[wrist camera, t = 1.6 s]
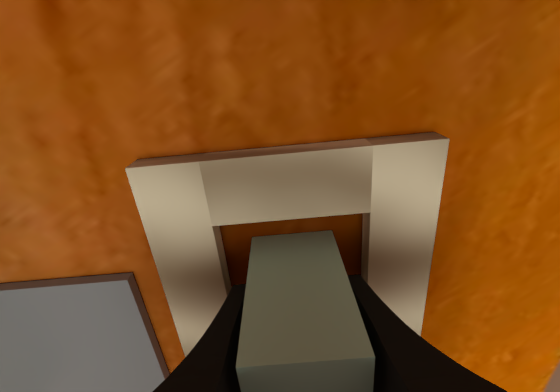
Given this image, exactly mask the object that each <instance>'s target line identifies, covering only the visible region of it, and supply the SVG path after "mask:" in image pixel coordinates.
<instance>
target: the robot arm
mask: <svg viewBox="0 0 560 392" xmlns="http://www.w3.org/2000/svg"><path fill="white" fill-rule="evenodd" d="M348 279H349V282H350V285H351V288H352V291H353V293H354V296H355V299H356V302H357V305H358V308H359V311H360V314H361V317H362V320H363V323H364V326H365V329H366V332H367V334H368V337H369V340H370V343H371V346H372V349H373V352H374V355H375V368H374V384H373V392H507V391H506V390H504V389H502V388H500V387H498V386H497V385H495V384H493V383H491V382H489V381H487V380H485V379H484V378H482V377H480V376H478V375H476V374H475V373H473V372H471V371H470V370H468V369H466V368H465V367H463V366H462V365H460V364H458V363H457V362H455V361H454V360H452V359H451V358H449V357H448V356H446V355H445V354H443V353H442V352H441V351H439V350H438V349H436V348H435V347H433V346H432V345H431V344H429V343H428V342H427V341H426V340H424V339H423V338H422V337H421V336H419V335H418V334H417V333H416V332H414V331H413V330H412V329H411V328H410V327H409V326H408V325H406V324H405V323H404V322H403V321H402V320H401V319H400V318H399V317H398V316H397V315H396V314H395V313H394V312H393V311H392V310H391V309H390V308H389V307H388V306H387V305H386V304H385V303H384V302H383V301H382V300H381V299H380V298H379V296H378V295H377V294H376V293H375V292H374V291H373V290H372V288H371V287H370V286H369V285H368V284H367V282H366V281H365V280H364V279H363V277H362V276H361V275H348ZM245 289H246V284H239V285H233V286H232V288H231V290H230V292H229V294H228V296H227V297H226V299H225V301H224V303H223V305H222V306H221V308H220V310H219V311H218V313H217V315H216V316H215V318H214V319H213V321H212V323H211V324H210V326H209V327H208V328H207V330H206V331H205V333H204V334H203V336H202V337H201V338H200V340H199V341H198V342H197V344H196V345H195V346H194V348H193V349H192V350H191V351H190V353H189V354H188V355H187V356H186V357H185V359H184V360H183V361H182V362H181V363H180V364H179V365H178V366H177V367H176V369H175V370H174V371H173V372H172V373H171V374H170V375H169V376H168V377H167V378H166V379H165V380H164V381H163V382H162V383H161V384H160V385H159V386H158V387H157V388H156V389H155V390H153V391H152V392H241V390H240V385H239V381H238V376H237V372H236V360H237V353H238V345H239V337H240V329H241V321H242V313H243V305H244V297H245Z"/></svg>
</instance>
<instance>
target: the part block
mask: <svg viewBox="0 0 560 392" xmlns="http://www.w3.org/2000/svg"><path fill="white" fill-rule="evenodd" d="M374 368H375V355H374V352H373V349H372V346H371V343H370V340H369V337H368V334H367V332H366V329H365V326H364V323H363V320H362V317H361V314H360V311H359V308H358V305H357V302H356V299H355V296H354V293H353V291H352V288H351V285H350V282H349V279H348V276H347V273H346V270H345V267H344V264H343V261H342V258H341V255H340V252H339V249H338V247H337V244H336V241H335V238H334V235H333V232H332V230H327V231H316V232H304V233H293V234H281V235H269V236H258V237H252V241H251V249H250V257H249V265H248V273H247V281H246V289H245V297H244V305H243V313H242V321H241V329H240V337H239V345H238V353H237V360H236V372H237V376H238V381H239V385H240V390H241V392H373V384H374Z"/></svg>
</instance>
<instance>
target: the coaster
mask: <svg viewBox="0 0 560 392" xmlns="http://www.w3.org/2000/svg"><path fill="white" fill-rule="evenodd" d="M169 375H170V374H169V371H168V368H167V366H166V363H165V360H164V358H163V355H162V352H161V349H160V347H159V344H158V341H157V338H156V336H155V333H154V330H153V327H152V325H151V322H150V319H149V316H148V314H147V311H146V308H145V306H144V303H143V300H142V297H141V295H140V292H139V289H138V286H137V284H136V281H135V278H134V275H133V273H120V274H108V275H96V276H85V277H73V278H61V279H49V280H37V281H25V282H14V283H2V284H0V392H152V391H153V390H155V389H156V388H157V387H158V386H159V385H160V384H161V383H162V382H163V381H164V380H165V379H166V378H167V377H168V376H169Z"/></svg>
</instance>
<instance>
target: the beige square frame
mask: <svg viewBox="0 0 560 392" xmlns="http://www.w3.org/2000/svg"><path fill="white" fill-rule="evenodd" d="M448 145H449V138H447V137H445V136H442V135H440V134H438V133H436V132H429V133H418V134H407V135H397V136H386V137H375V138H364V139H353V140H342V141H332V142H321V143H310V144H299V145H288V146H278V147H267V148H256V149H245V150H234V151H223V152H213V153H202V154H191V155H180V156H169V157H158V158H148V159H137V160H136V161H134V162H133V163H132V164H130V165H129V166H128V167H126V168H125V170H126V173H127V176H128V180H129V183H130V186H131V189H132V192H133V195H134V198H135V201H136V205H137V208H138V211H139V214H140V217H141V220H142V223H143V226H144V229H145V233H146V236H147V239H148V242H149V245H150V248H151V251H152V254H153V258H154V261H155V264H156V267H157V270H158V273H159V276H160V279H161V282H162V286H163V289H164V292H165V295H166V298H167V301H168V304H169V307H170V311H171V314H172V317H173V320H174V323H175V326H176V329H177V332H178V335H179V339H180V342H181V345H182V348H183V351H184V354H185V357H186V356H187V355H188V354H189V353H190V351H191V350H192V349H193V348H194V346H195V345H196V344H197V342H198V341H199V340H200V338H201V337H202V336H203V334H204V333H205V331H206V330H207V328H208V327H209V326H210V324H211V323H212V321H213V319H214V318H215V316H216V315H217V313H218V311H219V310H220V308H221V306H222V305H223V303H224V301H225V299H226V297H227V296H228V294H229V292H230V290H231V288H232V287H231V282H230V277H229V272H228V267H227V262H226V257H225V252H224V247H223V242H222V237H221V232H220V227H219V226H221V225H232V224H244V223H255V222H267V221H278V220H290V219H301V218H313V217H324V216H336V215H347V214H358V213H363V222H362V258H361V276H362V277H363V279H364V280H365V281H366V282H367V284H368V285H369V286H370V287H371V288H372V290H373V291H374V292H375V293H376V294H377V295H378V296H379V298H380V299H381V300H382V301H383V302H384V303H385V304H386V305H387V306H388V307H389V308H390V309H391V310H392V311H393V312H394V313H395V314H396V315H397V316H398V317H399V318H400V319H401V320H402V321H403V322H404V323H405V324H406V325H408V326H409V327H410V328H411V329H412V330H413V331H414V332H416V333H417V334H418V335H419V336H421V329H422V322H423V315H424V309H425V302H426V295H427V288H428V281H429V274H430V268H431V261H432V254H433V247H434V240H435V234H436V227H437V220H438V213H439V206H440V200H441V193H442V186H443V179H444V172H445V166H446V159H447V152H448Z"/></svg>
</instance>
